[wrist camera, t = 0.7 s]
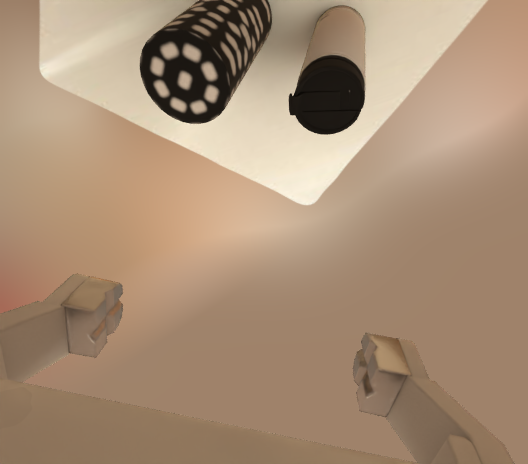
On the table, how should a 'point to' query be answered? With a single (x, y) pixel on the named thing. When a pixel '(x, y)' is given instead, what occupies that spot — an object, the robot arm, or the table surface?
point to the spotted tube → (204, 57)
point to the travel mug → (332, 74)
